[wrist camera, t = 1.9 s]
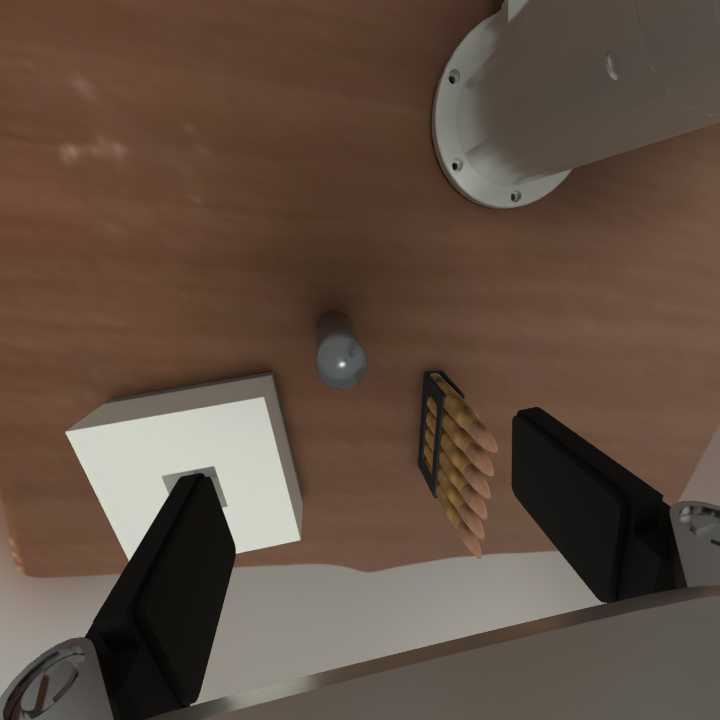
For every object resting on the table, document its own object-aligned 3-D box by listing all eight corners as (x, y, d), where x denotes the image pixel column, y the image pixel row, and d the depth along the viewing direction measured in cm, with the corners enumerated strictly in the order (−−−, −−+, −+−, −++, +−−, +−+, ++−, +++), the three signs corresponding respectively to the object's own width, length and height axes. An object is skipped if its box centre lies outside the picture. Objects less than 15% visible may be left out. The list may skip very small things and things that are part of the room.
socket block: (110, 398, 29) (65, 431, 23) (273, 371, 30) (264, 397, 24) (163, 523, 33) (135, 574, 28) (302, 496, 34) (300, 540, 29)
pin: (313, 314, 29) (312, 345, 19) (348, 308, 29) (363, 337, 19) (319, 347, 30) (321, 392, 20) (353, 341, 30) (370, 384, 20)
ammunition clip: (434, 464, 35) (490, 566, 24) (417, 466, 35) (466, 569, 24) (442, 370, 32) (512, 437, 21) (424, 371, 32) (484, 439, 20)
